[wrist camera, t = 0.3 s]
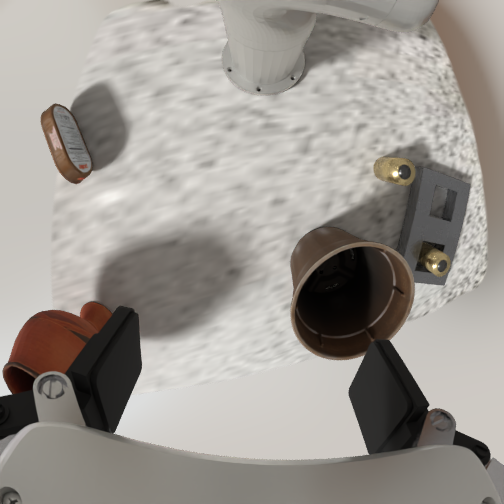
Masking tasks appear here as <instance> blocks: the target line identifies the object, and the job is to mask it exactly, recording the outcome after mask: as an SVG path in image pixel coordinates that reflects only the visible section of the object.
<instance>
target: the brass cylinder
mask: <svg viewBox="0 0 504 504" xmlns="http://www.w3.org/2000/svg"><path fill="white" fill-rule="evenodd" d="M374 173H375V175H376V177H377V178H378V179H380V180H382V181H386V182H390V183H394V184H398V185H402V186H407V185H409V184H411V183H412V182H413V180H414V178H415V167H414V165H413V163H412V162H411V161H410V160H408V159H405V158H391V157H381V158H379V159H377V160H376V162H375V164H374Z"/></svg>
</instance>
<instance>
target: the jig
mask: <svg viewBox="0 0 504 504" xmlns="http://www.w3.org/2000/svg"><path fill="white" fill-rule="evenodd" d="M435 185H436V186H439V187H442V188H445V189H448V193H447V198H446V203H445V208H444V212H443V217H442V218H440V217H436V216H432V215H430V211H431V206H432V201H433V196H434V191H435ZM469 190H470V184H468V183H465V182H463V181H460V180H458V179H455V178H453V177H450V176H447V175H444V174H442V173H439V172H436V171H433V170H430V169H428V168H425V167H418V166H415V178H414V180H413V182H412V185H411V191H410V196H409V201H408V206H407V211H406V215H405V220H404V224H403V228H402V232H401V236H400V240H399V244H398V248H397V252H398V253H399V254H401V255H402V256H403V258H404V259H405V260H406V261H407V263H408V265H409V266H410V268H411V271H412V274H413V278H414V282H415V283H425V284H434V285H445V282H446V279H447V276H448V273H449V270H450V267H451V264H452V261H453V257H454V254H455V251H456V247H457V243H458V240H459V236H460V232H461V228H462V224H463V220H464V215H465V211H466V206H467V201H468V196H469ZM423 241H427V242H432V243H436V245H435V247H433V246H431V245H430V244H428V243H426V242H423ZM417 262H419V263H420V264H421V265H423V266H424V267H420V266H416V265H417Z"/></svg>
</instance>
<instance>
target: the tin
mask: <svg viewBox="0 0 504 504" xmlns="http://www.w3.org/2000/svg"><path fill="white" fill-rule="evenodd" d="M41 125H42V129H43V132H44V135H45V138H46V140H47V143H48V146H49V149H50V152H51V155H52V157H53V160H54V163H55V165H56V167H57V169H58V170H59V172H60V173H61V175H62V176H63V177H64V178H65V179H66V180H68V181H69V182H71V183H74V184H78V183H80V182H81V181H82V180H83V179H85V178H86V177H87V176H89V175H90V173H91V172H92V160H91V157H90V154H89V152H88V149H87V147H86V144H85V142H84V139H83V137H82V134H81V132H80V129H79V127H78V124H77V122H76V120H75V118H74V116H73V115H72V113H71V112H70V111H69V110H68V109H67V108H66V107H64V106H62V105H60V104H53V105H52V106H51V107H49V108H48V109H47V110H46V111H44V112H43V113H42V115H41Z"/></svg>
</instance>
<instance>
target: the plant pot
mask: <svg viewBox="0 0 504 504" xmlns="http://www.w3.org/2000/svg"><path fill="white" fill-rule="evenodd" d="M350 248H352V249H353V252H354V260H352V259H351V257H352V256H351V252H350ZM334 266H337V268H336V269H333V267H334ZM321 270H322V271H323V273H322V274H320V271H321ZM291 272H292V278H293V286H294V291H293V298H292V303H291V323H292V327H293V330H294V333H295V335H296V337H297V339H298V340H299V342H300V343H301V344H302V345H303V346H304V347H305V348H306V349H307V350H309V351H310V352H312V353H313V354H315V355H317V356H319V357H322V358H326V359H331V360H349V359H353V358H358V357H361V356H364V355H365V354H366V352H367V350H368V347H369V345H370V344H371V343H372V342H374V341H375V340H376V339H387V340H390V339H391V338H392V337H393V336H394V335H395V334H396V333H397V332H398V331H399V330H400V328H401V327H402V326H403V324H404V323H405V321H406V319H407V317H408V315H409V313H410V310H411V308H412V304H413V300H414V293H415V284H414V278H413V274H412V271H411V268H410V266H409V265H408V263H407V261H406V260H405V259H404V258H403V256H402V255H401V254H399V253H398V252H397V251H396V250H394V249H393V248H391V247H389V246H387V245H384V244H381V243H377V242H370V241H366V240H361V239H359V238H357V237H355V236H353V235H351V234H349V233H347V232H346V231H344V230H341V229H339V228H335V227H323V228H319V229H316V230H313V231H311V232H309V233H308V234H306V235H305V236H304V237H302V238H301V239H300V241H299V242H298V244H297V246H296V247H295V249H294V251H293V253H292V256H291ZM336 283H339V285H338V286H336V287H334V288H331V289H325V288H326V287H328V286H332V285H334V284H336Z"/></svg>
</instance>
